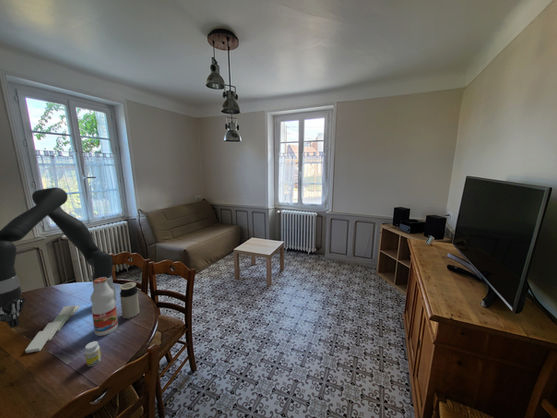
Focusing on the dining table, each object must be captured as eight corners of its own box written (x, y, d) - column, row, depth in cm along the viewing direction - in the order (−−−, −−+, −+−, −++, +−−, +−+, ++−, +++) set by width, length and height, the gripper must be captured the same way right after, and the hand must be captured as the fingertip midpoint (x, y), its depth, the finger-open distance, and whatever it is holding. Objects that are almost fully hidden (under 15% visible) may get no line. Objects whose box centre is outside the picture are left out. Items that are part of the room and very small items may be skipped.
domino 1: (26, 352, 96) (40, 334, 103) (40, 350, 97) (52, 332, 105) (24, 350, 95) (39, 331, 102) (38, 348, 96) (51, 329, 104)
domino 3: (56, 323, 114) (64, 309, 122) (67, 321, 116) (75, 307, 124) (54, 320, 114) (63, 306, 121) (66, 318, 115) (74, 305, 123)
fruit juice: (120, 321, 117) (114, 273, 112) (115, 333, 108) (109, 281, 104) (98, 326, 113) (91, 276, 108) (92, 338, 104) (84, 285, 100)
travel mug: (126, 321, 117) (123, 290, 114) (120, 315, 121) (116, 286, 118) (142, 313, 124) (139, 284, 121) (135, 308, 128) (132, 280, 125)
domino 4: (57, 328, 108) (68, 313, 116) (45, 330, 107) (57, 314, 115) (58, 331, 109) (69, 316, 117) (47, 332, 108) (58, 317, 115)
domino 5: (60, 319, 118) (69, 309, 126) (72, 317, 120) (80, 308, 128) (60, 316, 118) (69, 307, 126) (71, 314, 119) (79, 305, 128)
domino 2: (37, 342, 101) (49, 325, 109) (50, 340, 103) (61, 323, 111) (36, 340, 101) (48, 322, 108) (48, 337, 102) (60, 321, 110)
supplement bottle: (92, 357, 94) (90, 340, 93) (104, 356, 94) (101, 340, 93) (83, 367, 89) (81, 349, 88) (95, 366, 90) (93, 348, 88)
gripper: (4, 295, 82) (14, 335, 85) (29, 278, 94) (37, 314, 97) (-24, 299, 79) (-12, 340, 82) (6, 281, 91) (15, 317, 94)
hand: (14, 325), depth 90 cm, fingers closed
